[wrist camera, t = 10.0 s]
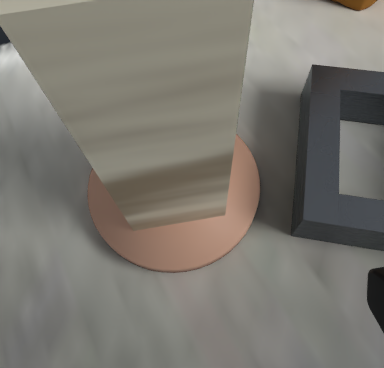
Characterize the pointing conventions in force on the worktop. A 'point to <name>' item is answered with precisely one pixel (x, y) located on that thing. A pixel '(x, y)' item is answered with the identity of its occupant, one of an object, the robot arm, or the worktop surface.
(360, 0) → the coffee package
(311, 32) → the worktop surface
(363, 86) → the post holder
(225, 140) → the post
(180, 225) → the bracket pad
